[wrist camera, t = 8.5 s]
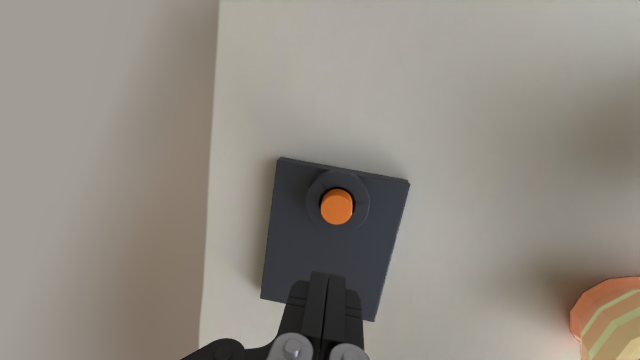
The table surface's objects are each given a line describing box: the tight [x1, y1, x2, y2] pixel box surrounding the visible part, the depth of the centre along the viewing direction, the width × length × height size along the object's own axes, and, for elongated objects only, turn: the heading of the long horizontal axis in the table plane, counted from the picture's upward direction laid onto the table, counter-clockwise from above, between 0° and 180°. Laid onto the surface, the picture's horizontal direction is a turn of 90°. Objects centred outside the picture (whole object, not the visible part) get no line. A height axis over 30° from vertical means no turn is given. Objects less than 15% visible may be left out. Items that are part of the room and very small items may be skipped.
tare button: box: [321, 189, 352, 225], centre depth 25 cm, size 3×3×2 cm
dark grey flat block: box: [260, 157, 410, 322], centre depth 29 cm, size 15×12×3 cm
